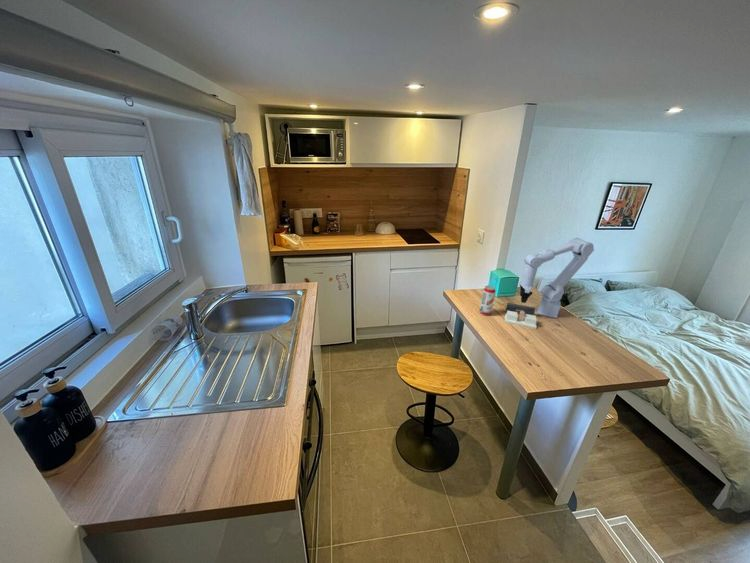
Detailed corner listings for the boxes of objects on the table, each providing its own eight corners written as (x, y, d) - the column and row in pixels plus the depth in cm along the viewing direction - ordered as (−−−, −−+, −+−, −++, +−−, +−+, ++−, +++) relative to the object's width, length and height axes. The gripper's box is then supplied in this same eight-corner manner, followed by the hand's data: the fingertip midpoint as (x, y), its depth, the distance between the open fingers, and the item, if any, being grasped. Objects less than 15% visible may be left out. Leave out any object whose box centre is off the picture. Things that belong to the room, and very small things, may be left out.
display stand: (534, 320, 155) (537, 311, 153) (536, 328, 149) (539, 318, 146) (504, 315, 160) (507, 305, 158) (505, 322, 154) (507, 312, 151)
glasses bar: (532, 315, 161) (534, 307, 159) (532, 317, 159) (535, 309, 157) (505, 310, 165) (507, 302, 163) (505, 312, 163) (507, 304, 161)
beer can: (476, 311, 163) (481, 286, 157) (485, 309, 166) (490, 284, 159) (484, 316, 158) (490, 291, 152) (493, 314, 161) (498, 289, 154)
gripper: (519, 270, 160) (514, 292, 166) (521, 280, 148) (515, 303, 153) (533, 272, 158) (527, 294, 163) (536, 283, 145) (530, 306, 151)
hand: (522, 299), depth 158 cm, fingers open, 7 cm apart
